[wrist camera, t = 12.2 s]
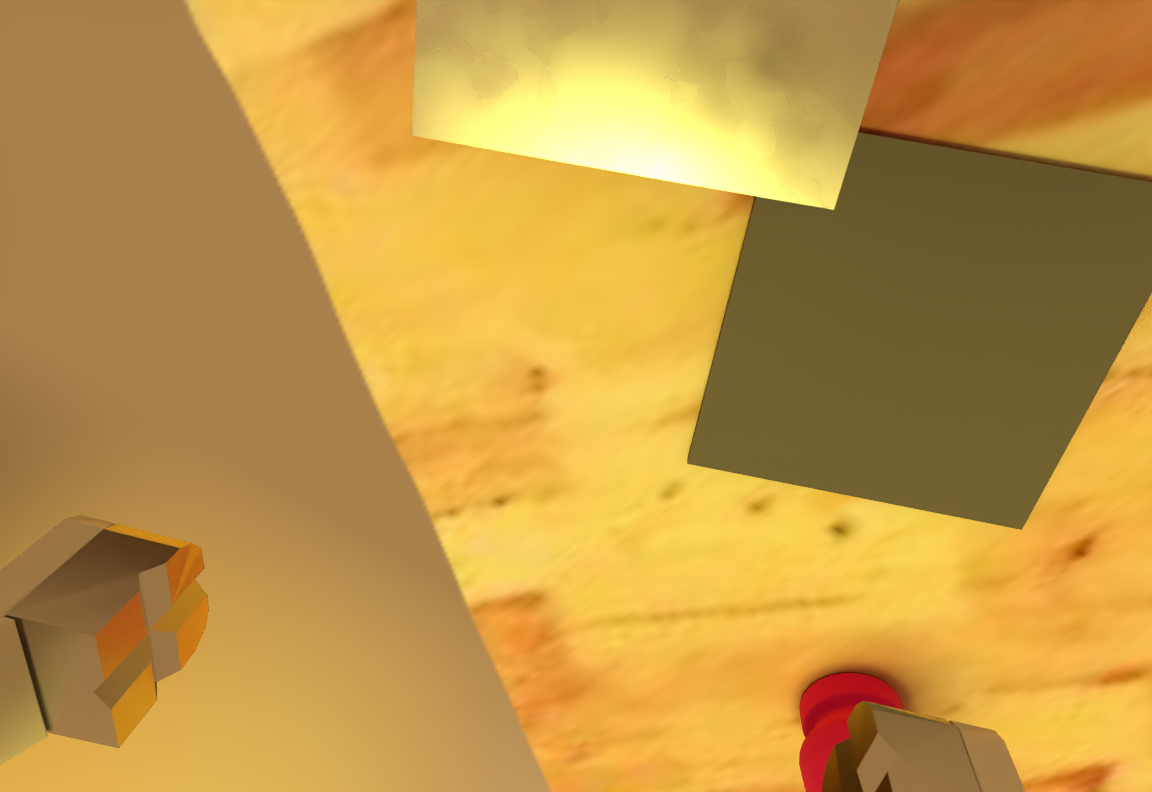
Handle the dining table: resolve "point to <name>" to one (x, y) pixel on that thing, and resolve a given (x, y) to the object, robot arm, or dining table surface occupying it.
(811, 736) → the pepper mill
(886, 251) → the rubber mat
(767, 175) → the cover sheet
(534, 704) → the dining table surface
